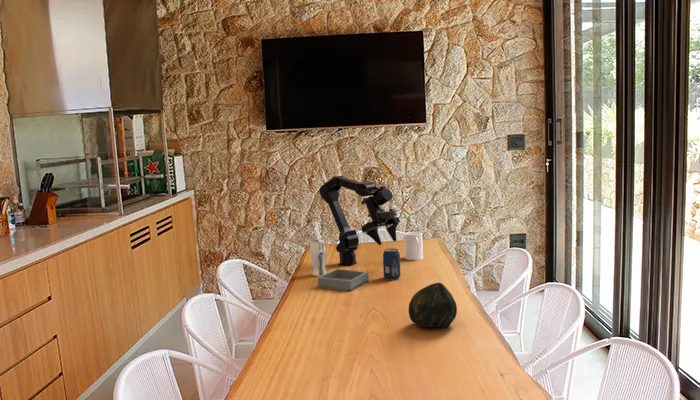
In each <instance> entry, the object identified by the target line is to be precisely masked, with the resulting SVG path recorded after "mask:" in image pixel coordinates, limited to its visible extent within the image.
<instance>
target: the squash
mask: <svg viewBox="0 0 700 400" xmlns="http://www.w3.org/2000/svg"><path fill="white" fill-rule="evenodd" d="M457 307H458V306H457V302H456V300H455V299H454V296H453V295H452V293H451V292H450V291H449V289H448V288H447V287H446V286H445V284H443V283H442V282H436V283H434V282H433V283H431V284H429V285H427V286H425V287H423V288H421V289H419V290H418V291H417V292H415V294H414V295H413V296H412V297H411V300H410V301H409V304H408V316H409V319H410V321H411V323H413V324H414V325H417V326H418V327H420V328H427V327H428V328H433V327H434V328H440V329H444V328H447V327H449V326H451V324H452V323H453V322H454V321H455V319H456V317H457V312H458V308H457Z"/></svg>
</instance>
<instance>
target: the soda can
mask: <svg viewBox="0 0 700 400" xmlns="http://www.w3.org/2000/svg"><path fill="white" fill-rule="evenodd" d="M382 260H383V261H382V264H383V266H382V267H383V277H384V279H385V280H388V281H396V280H398V279H400V277H401V254H400V252H399V249H398V248H386V249H384V251H383V253H382Z"/></svg>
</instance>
